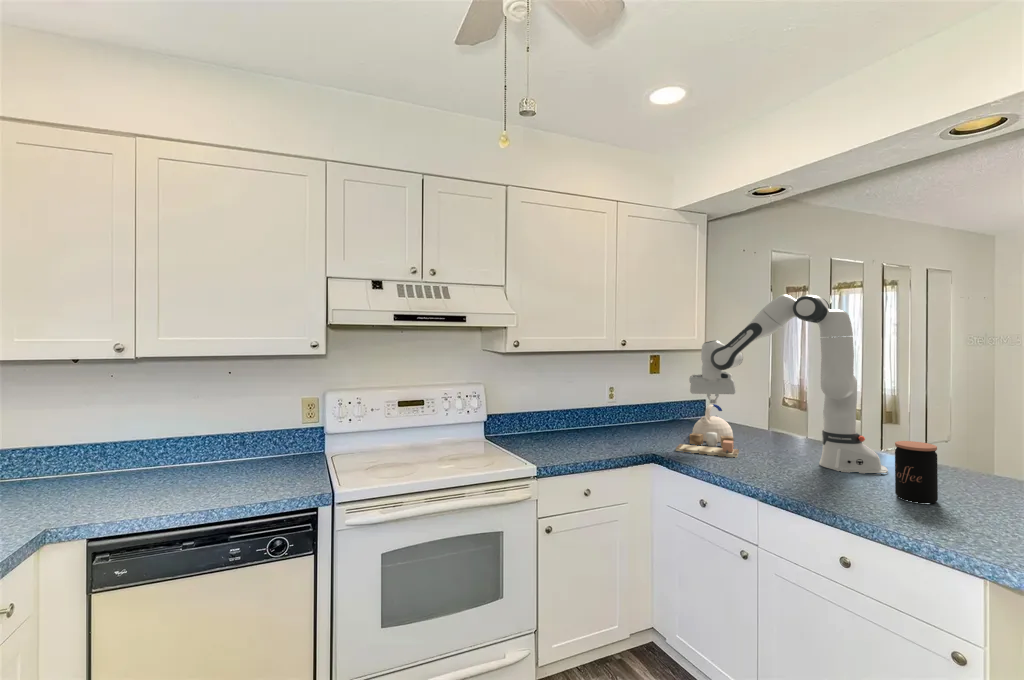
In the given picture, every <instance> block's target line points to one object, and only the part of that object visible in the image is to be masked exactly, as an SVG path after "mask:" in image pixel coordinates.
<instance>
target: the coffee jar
mask: <svg viewBox="0 0 1024 680" xmlns="http://www.w3.org/2000/svg"><path fill="white" fill-rule="evenodd" d="M894 446H895V447H896V448H895V450H894V478H895V481H894V485H895V487H894V488H895V490H894V491H895V492H894V494H895V495H896V496H897V498H898V497H900V498H902V499H904V500H908V501H912V502H918V503H934V504H936V502H937V501H938V500H939V497H938V495H939V493H938V491H939V490H938V488H939V486H938V481H939V479H938V476H939V475H938V454H937V452H936V451H937V450H938V445H935V444H932V443H927V442H922V441H911V440H900V441H899V440H898V441H895V442H894ZM904 500H903V501H904Z"/></svg>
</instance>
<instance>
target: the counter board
mask: <svg viewBox="0 0 1024 680" xmlns="http://www.w3.org/2000/svg"><path fill="white" fill-rule="evenodd" d="M676 451H683V452H682V453H684V452H691V453H690V454H694V453H699V454H698V455H704V454H707V455H706V456H714V455H718V456H717V457H724V456H726V457H727V458H733V457H735V458H736V459H737V458H738V455H739V453H740V449H738V448H734V449H733V452H726V451H723V448H722V447H717V446H707V445H706V446H705V445H704V446H703V445H701V446H697V445H690V444H685V443H679V444H678V445H677V446H676V447H675V452H676Z"/></svg>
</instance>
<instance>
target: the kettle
mask: <svg viewBox="0 0 1024 680" xmlns="http://www.w3.org/2000/svg"><path fill="white" fill-rule="evenodd" d="M713 407H714V408H716V410H717V411H718V412H722V411H723V408H721V406H720V405H718V404H712V403H709V405H707V407H706V409H705V412H704V414H705V415H703V416H701V418H700V419H698V420H697V421H696V422H695V424H694V425H693V428H692V432H691V434H692V433H697V434H703V442H706V433H707V432H715V433H717V443H721V436H732V437H733V438H734V433H733V429H732V427H731V425H730V424H729V423H728V422H727V421H726V420H725V419H723V418H721V417H719V416H718V415H711V410H712V409H713Z"/></svg>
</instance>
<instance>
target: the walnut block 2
mask: <svg viewBox="0 0 1024 680" xmlns="http://www.w3.org/2000/svg"><path fill="white" fill-rule="evenodd" d="M734 439H735V438H734V436H733V437H732V436H721V442H720V446H721V447H720V448H723V441H724V440H728V441H733V448H734V447H735V446H734V444H735V443H734V442H735V441H734ZM734 449H735V448H734Z"/></svg>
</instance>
